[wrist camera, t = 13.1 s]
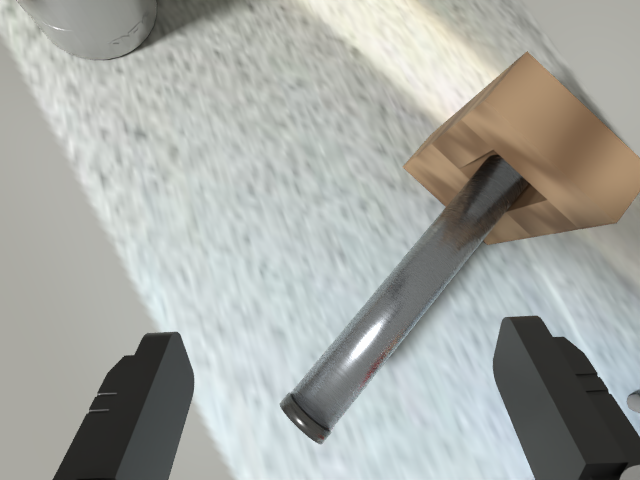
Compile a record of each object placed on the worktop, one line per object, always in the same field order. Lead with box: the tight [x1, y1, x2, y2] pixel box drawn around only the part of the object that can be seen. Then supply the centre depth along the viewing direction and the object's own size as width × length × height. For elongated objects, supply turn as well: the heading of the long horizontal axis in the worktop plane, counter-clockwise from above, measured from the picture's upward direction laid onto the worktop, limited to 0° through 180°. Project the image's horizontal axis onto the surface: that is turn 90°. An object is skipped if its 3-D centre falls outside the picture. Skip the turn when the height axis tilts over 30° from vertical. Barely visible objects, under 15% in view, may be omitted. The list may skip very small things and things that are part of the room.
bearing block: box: [403, 52, 640, 245], centre depth 31 cm, size 10×4×14 cm, turn 49°
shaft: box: [280, 155, 529, 444], centre depth 27 cm, size 21×3×3 cm, turn 139°
